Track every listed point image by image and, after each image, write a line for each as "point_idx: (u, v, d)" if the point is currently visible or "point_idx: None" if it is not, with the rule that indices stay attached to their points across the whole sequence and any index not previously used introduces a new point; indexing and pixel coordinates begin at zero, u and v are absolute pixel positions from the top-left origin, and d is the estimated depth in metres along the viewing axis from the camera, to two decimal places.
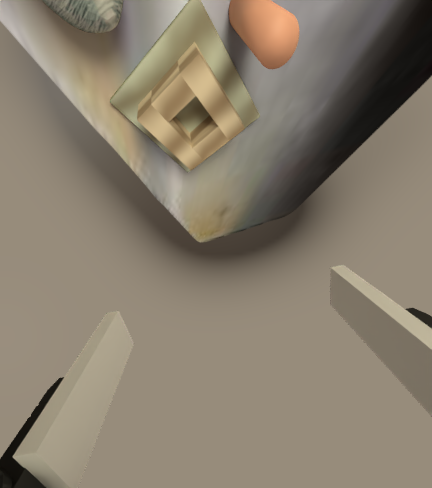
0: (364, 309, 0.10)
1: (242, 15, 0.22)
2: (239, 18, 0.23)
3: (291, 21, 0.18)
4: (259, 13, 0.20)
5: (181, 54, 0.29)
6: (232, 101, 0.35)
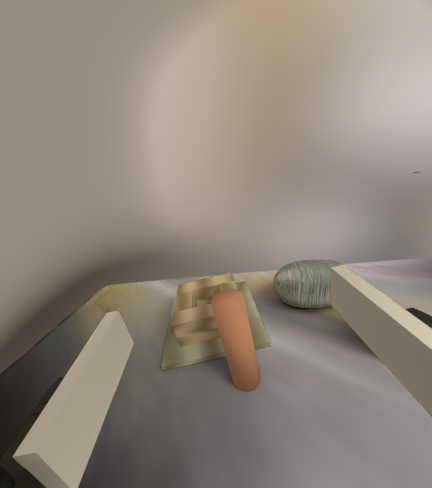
0: (364, 309, 0.10)
1: None
2: None
3: (234, 306, 0.23)
4: None
5: None
6: (193, 345, 0.35)
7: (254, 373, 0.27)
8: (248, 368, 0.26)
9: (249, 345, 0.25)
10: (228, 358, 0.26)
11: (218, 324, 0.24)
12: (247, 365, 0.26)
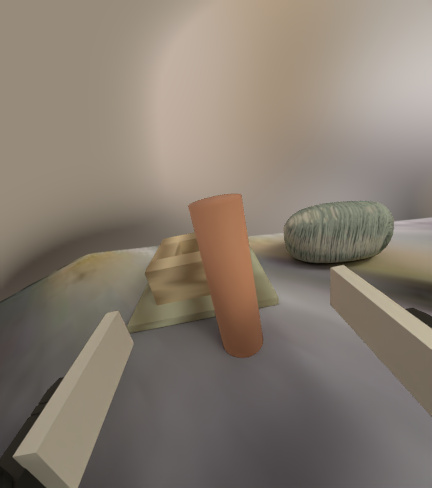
0: (364, 309, 0.10)
1: None
2: None
3: (223, 202, 0.14)
4: None
5: None
6: (174, 303, 0.26)
7: (255, 330, 0.18)
8: (245, 318, 0.17)
9: (247, 280, 0.16)
10: (215, 302, 0.17)
11: (199, 240, 0.15)
12: (244, 313, 0.17)
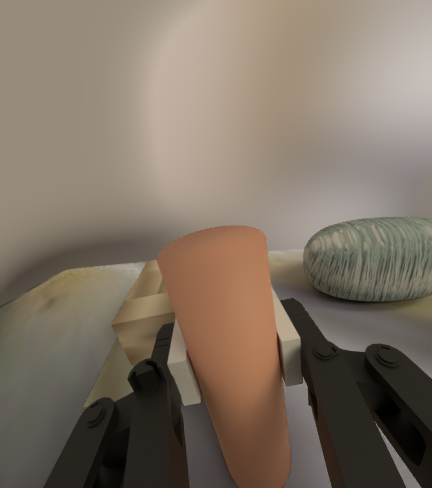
0: None
1: None
2: None
3: (230, 258, 0.06)
4: None
5: None
6: None
7: (282, 458, 0.10)
8: (267, 451, 0.09)
9: (273, 391, 0.08)
10: (213, 419, 0.10)
11: (180, 325, 0.08)
12: (266, 444, 0.09)
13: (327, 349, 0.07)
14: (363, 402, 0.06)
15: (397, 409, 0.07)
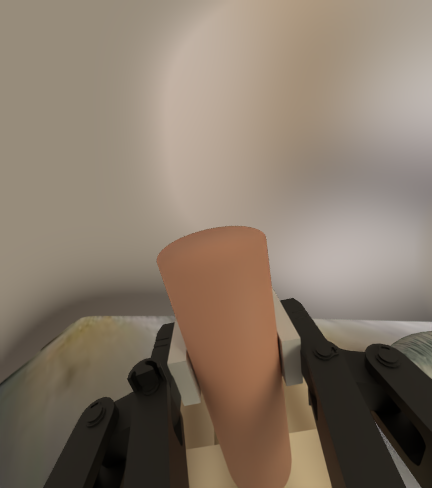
0: None
1: None
2: None
3: (230, 259, 0.06)
4: None
5: None
6: None
7: (283, 459, 0.10)
8: (268, 451, 0.09)
9: (274, 392, 0.08)
10: (213, 420, 0.10)
11: (180, 325, 0.08)
12: (267, 445, 0.09)
13: (327, 349, 0.07)
14: (363, 402, 0.06)
15: (397, 409, 0.07)
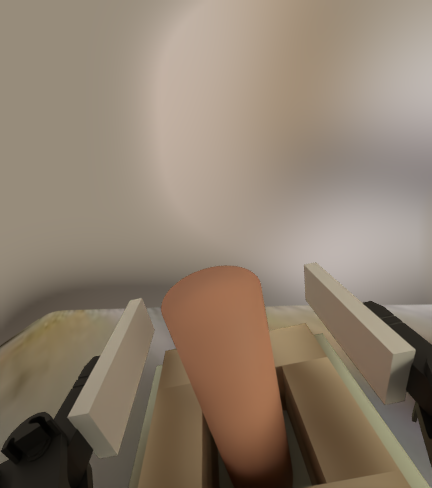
0: (329, 303, 0.11)
1: None
2: None
3: (228, 314, 0.07)
4: None
5: None
6: None
7: (284, 478, 0.11)
8: (269, 474, 0.10)
9: (272, 422, 0.09)
10: (217, 445, 0.10)
11: (184, 366, 0.08)
12: (268, 468, 0.10)
13: None
14: None
15: None
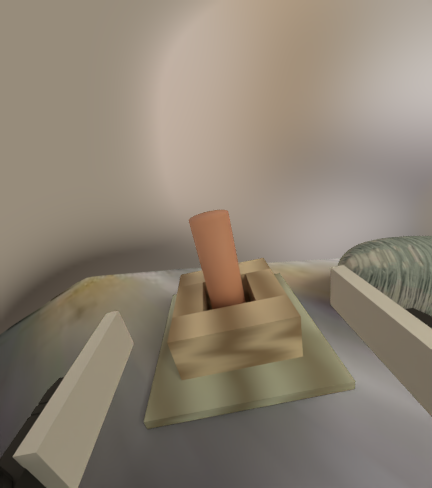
0: (364, 309, 0.10)
1: None
2: None
3: (214, 218, 0.19)
4: None
5: None
6: (205, 378, 0.20)
7: None
8: None
9: (234, 275, 0.21)
10: (210, 293, 0.22)
11: (197, 246, 0.20)
12: (233, 301, 0.22)
13: None
14: None
15: None
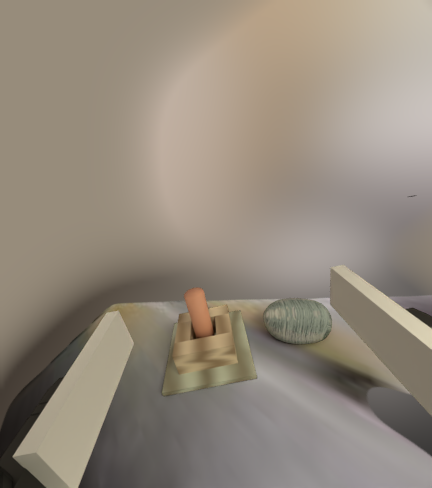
0: (364, 309, 0.10)
1: None
2: None
3: (196, 297, 0.40)
4: None
5: (236, 352, 0.43)
6: (190, 373, 0.41)
7: None
8: (206, 336, 0.43)
9: (206, 321, 0.42)
10: (194, 330, 0.43)
11: (188, 308, 0.41)
12: (206, 334, 0.43)
13: None
14: None
15: None
